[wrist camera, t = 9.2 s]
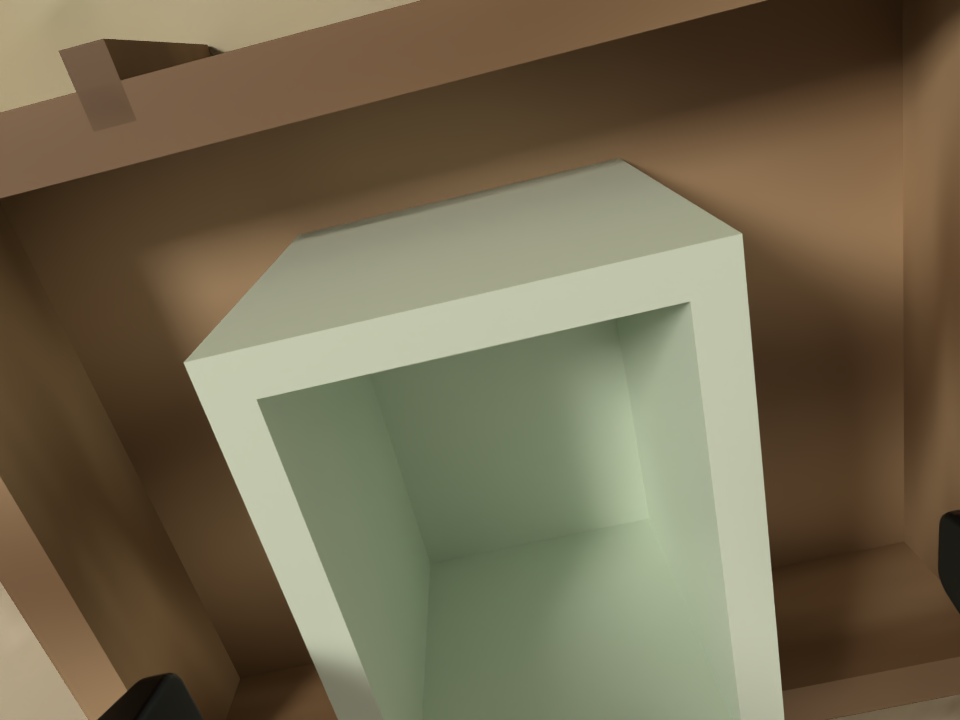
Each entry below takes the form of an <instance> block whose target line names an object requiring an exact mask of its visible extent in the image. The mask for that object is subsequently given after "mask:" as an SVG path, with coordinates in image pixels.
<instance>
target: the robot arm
mask: <svg viewBox="0 0 960 720" xmlns="http://www.w3.org/2000/svg"><path fill="white" fill-rule="evenodd" d="M938 573H939V578H940V581H941V584H942V586H943V588H944V590H945V592H946V594H947V595H948V597H949V599H950V600H951V602H952V603H953V605H954V606H955V608H956V609H957V611H958V613H959V614H960V509H959V510H954V511H949V512H947V513H945V514H943V515H942V517H941V519H940V522H939V545H938ZM97 720H204V719H203V716H202V714H201V713H200V711H199V709H198V707H197V705H196V703H195V702H194V700H193V698H192V696H191V694H190V692H189V691H188V689H187V687H186V685H185V683H184V682H183V680H182V678H181V677H180V676H179V675H177V674H176V673H171V672H170V673H164V674H159V675H154V676H150V677H146V678H143V679H141V680H139V681H138V682H136V683H135V684H134V685H133V686H132V687H131V688H130V689H129V690H128V691H127V692H126V693H125V694H124V695H122V696H121V697H120V698H119V699H118V700H117V701H116V702H115V703H114V704H113V705H112V706H111V707H110V708H109V709H108V710H107V711H106V712H105V713H103V714H102V715H101V716H100V717H99V718H98V719H97Z"/></svg>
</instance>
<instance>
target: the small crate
mask: <svg viewBox="0 0 960 720" xmlns="http://www.w3.org/2000/svg"><path fill="white" fill-rule="evenodd" d="M184 365H185V367H186V370H187V372H188V374H189V377H190V379H191V381H192V384H193V386H194V388H195V390H196V393H197V395H198V397H199V400H200V402H201V404H202V407H203V409H204V411H205V414H206V416H207V418H208V420H209V423H210V425H211V427H212V430H213V432H214V434H215V437H216V439H217V441H218V444H219V446H220V448H221V450H222V453H223V455H224V457H225V460H226V462H227V464H228V467H229V469H230V471H231V474H232V476H233V478H234V481H235V483H236V485H237V487H238V490H239V492H240V494H241V497H242V499H243V501H244V504H245V506H246V508H247V511H248V513H249V515H250V517H251V520H252V522H253V524H254V527H255V529H256V531H257V534H258V536H259V538H260V541H261V543H262V545H263V547H264V550H265V552H266V554H267V557H268V559H269V561H270V564H271V566H272V568H273V571H274V573H275V575H276V577H277V580H278V582H279V584H280V587H281V589H282V591H283V594H284V596H285V598H286V601H287V603H288V605H289V607H290V610H291V612H292V614H293V617H294V619H295V621H296V624H297V626H298V628H299V631H300V633H301V635H302V638H303V640H304V642H305V644H306V647H307V649H308V651H309V654H310V656H311V658H312V661H313V663H314V665H315V668H316V670H317V672H318V674H319V677H320V679H321V681H322V684H323V686H324V688H325V691H326V693H327V695H328V698H329V700H330V702H331V704H332V707H333V709H334V711H335V714H336V716H337V718H338V720H784V708H783V697H782V685H781V674H780V662H779V651H778V639H777V628H776V616H775V605H774V593H773V582H772V570H771V559H770V547H769V536H768V524H767V513H766V501H765V490H764V478H763V467H762V455H761V444H760V432H759V420H758V409H757V397H756V386H755V374H754V363H753V351H752V340H751V328H750V317H749V305H748V294H747V282H746V271H745V259H744V248H743V236H742V233H741V232H739V231H737V230H736V229H734V228H732V227H731V226H729V225H727V224H726V223H724V222H723V221H721V220H719V219H718V218H716V217H714V216H713V215H711V214H710V213H708V212H706V211H705V210H703V209H701V208H700V207H698V206H697V205H695V204H693V203H692V202H690V201H688V200H687V199H685V198H683V197H682V196H680V195H679V194H677V193H675V192H674V191H672V190H670V189H669V188H667V187H666V186H664V185H662V184H661V183H659V182H657V181H656V180H654V179H653V178H651V177H649V176H648V175H646V174H644V173H643V172H641V171H639V170H638V169H636V168H635V167H633V166H631V165H630V164H628V163H626V162H625V161H623V160H622V159H620V158H617V159H613V160H609V161H605V162H600V163H596V164H592V165H588V166H584V167H580V168H575V169H571V170H567V171H563V172H559V173H555V174H550V175H546V176H542V177H538V178H534V179H530V180H525V181H521V182H517V183H513V184H509V185H505V186H500V187H496V188H492V189H488V190H484V191H480V192H476V193H471V194H467V195H463V196H459V197H455V198H451V199H446V200H442V201H438V202H434V203H430V204H426V205H421V206H417V207H413V208H409V209H405V210H401V211H396V212H392V213H388V214H384V215H380V216H376V217H371V218H367V219H363V220H359V221H355V222H351V223H346V224H342V225H338V226H334V227H330V228H326V229H321V230H317V231H313V232H309V233H305V234H301V235H298V236H297V238H296V239H295V240H294V241H293V242H292V243H291V244H290V245H289V246H288V247H287V249H286V250H285V251H284V252H283V253H282V254H281V255H280V256H279V257H278V259H277V260H276V261H275V262H274V263H273V264H272V265H271V266H270V267H269V268H268V270H267V271H266V272H265V273H264V274H263V275H262V276H261V277H260V278H259V280H258V281H257V282H256V283H255V284H254V285H253V286H252V287H251V288H250V290H249V291H248V292H247V293H246V294H245V295H244V296H243V297H242V298H241V299H240V301H239V302H238V303H237V304H236V305H235V306H234V307H233V308H232V309H231V311H230V312H229V313H228V314H227V315H226V316H225V317H224V318H223V319H222V320H221V322H220V323H219V324H218V325H217V326H216V327H215V328H214V329H213V330H212V332H211V333H210V334H209V335H208V336H207V337H206V338H205V339H204V340H203V342H202V343H201V344H200V345H199V346H198V347H197V348H196V349H195V350H194V351H193V353H192V354H191V355H190V356H189V357H188V358H187V359H186V360H185V361H184Z"/></svg>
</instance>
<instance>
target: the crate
mask: <svg viewBox="0 0 960 720" xmlns="http://www.w3.org/2000/svg"><path fill="white" fill-rule="evenodd" d="M59 53H60V55H61V57H62V60H63V62H64V64H65V67H66V69H67V71H68V74H69V76H70V78H71V81H72V83H73V85H74V87H75V90H76V93H72V94H68V95H65V96H61V97H57V98H53V99H50V100H46V101H42V102H38V103H35V104H31V105H27V106H23V107H20V108H16V109H12V110H8V111H5V112H1V113H0V582H1V583H2V585H3V586H4V588H5V589H6V591H7V593H8V594H9V596H10V597H11V599H12V600H13V602H14V604H15V605H16V607H17V608H18V610H19V611H20V613H21V615H22V616H23V618H24V619H25V621H26V622H27V624H28V626H29V627H30V629H31V630H32V632H33V633H34V635H35V637H36V638H37V640H38V641H39V643H40V644H41V646H42V648H43V649H44V651H45V652H46V654H47V655H48V657H49V659H50V660H51V662H52V663H53V665H54V666H55V668H56V670H57V671H58V673H59V674H60V676H61V677H62V679H63V680H64V682H65V684H66V685H67V687H68V688H69V690H70V691H71V693H72V695H73V696H74V698H75V699H76V701H77V702H78V704H79V706H80V707H81V709H82V710H83V712H84V713H85V715H86V717H87V718H88V720H97V719H98V718H99V717H100V716H101V715H102V714H103V713H105V712H106V711H107V710H108V709H109V708H110V707H111V706H112V705H113V704H114V703H115V702H116V701H117V700H118V699H119V698H120V697H121V696H122V695H124V694H125V693H126V692H127V691H128V690H129V689H130V688H131V687H132V686H133V685H134V684H135V683H136V682H138V681H139V680H141V679H143V678H146V677H150V676H154V675H159V674H164V673H170V672H171V673H176V674H177V675H179V676H180V677H181V678H182V680H183V682H184V683H185V685H186V687H187V689H188V691H189V692H190V694H191V696H192V698H193V700H194V702H195V703H196V705H197V707H198V709H199V711H200V713H201V714H202V716H203V719H204V720H338V718H337V716H336V714H335V711H334V709H333V707H332V704H331V702H330V700H329V698H328V695H327V693H326V691H325V688H324V686H323V684H322V681H321V679H320V677H319V674H318V672H317V670H316V668H315V665H314V663H313V661H312V658H311V656H310V654H309V651H308V649H307V647H306V644H305V642H304V640H303V638H302V635H301V633H300V631H299V628H298V626H297V624H296V621H295V619H294V617H293V614H292V612H291V610H290V607H289V605H288V603H287V601H286V598H285V596H284V594H283V591H282V589H281V587H280V584H279V582H278V580H277V577H276V575H275V573H274V571H273V568H272V566H271V564H270V561H269V559H268V557H267V554H266V552H265V550H264V547H263V545H262V543H261V541H260V538H259V536H258V534H257V531H256V529H255V527H254V524H253V522H252V520H251V517H250V515H249V513H248V511H247V508H246V506H245V504H244V501H243V499H242V497H241V494H240V492H239V490H238V487H237V485H236V483H235V481H234V478H233V476H232V474H231V471H230V469H229V467H228V464H227V462H226V460H225V457H224V455H223V453H222V450H221V448H220V446H219V444H218V441H217V439H216V437H215V434H214V432H213V430H212V427H211V425H210V423H209V420H208V418H207V416H206V414H205V411H204V409H203V407H202V404H201V402H200V400H199V397H198V395H197V393H196V390H195V388H194V386H193V384H192V381H191V379H190V377H189V374H188V372H187V370H186V367H185V365H184V361H185V360H186V359H187V358H188V357H189V356H190V355H191V354H192V353H193V351H194V350H195V349H196V348H197V347H198V346H199V345H200V344H201V343H202V342H203V340H204V339H205V338H206V337H207V336H208V335H209V334H210V333H211V332H212V330H213V329H214V328H215V327H216V326H217V325H218V324H219V323H220V322H221V320H222V319H223V318H224V317H225V316H226V315H227V314H228V313H229V312H230V311H231V309H232V308H233V307H234V306H235V305H236V304H237V303H238V302H239V301H240V299H241V298H242V297H243V296H244V295H245V294H246V293H247V292H248V291H249V290H250V288H251V287H252V286H253V285H254V284H255V283H256V282H257V281H258V280H259V278H260V277H261V276H262V275H263V274H264V273H265V272H266V271H267V270H268V268H269V267H270V266H271V265H272V264H273V263H274V262H275V261H276V260H277V259H278V257H279V256H280V255H281V254H282V253H283V252H284V251H285V250H286V249H287V247H288V246H289V245H290V244H291V243H292V242H293V241H294V240H295V239H296V238H297V236H298V235H301V234H305V233H309V232H313V231H317V230H321V229H326V228H330V227H334V226H338V225H342V224H346V223H351V222H355V221H359V220H363V219H367V218H371V217H376V216H380V215H384V214H388V213H392V212H396V211H401V210H405V209H409V208H413V207H417V206H421V205H426V204H430V203H434V202H438V201H442V200H446V199H451V198H455V197H459V196H463V195H467V194H471V193H476V192H480V191H484V190H488V189H492V188H496V187H500V186H505V185H509V184H513V183H517V182H521V181H525V180H530V179H534V178H538V177H542V176H546V175H550V174H555V173H559V172H563V171H567V170H571V169H575V168H580V167H584V166H588V165H592V164H596V163H600V162H605V161H609V160H613V159H617V158H620V159H622V160H623V161H625V162H626V163H628V164H630V165H631V166H633V167H635V168H636V169H638V170H639V171H641V172H643V173H644V174H646V175H648V176H649V177H651V178H653V179H654V180H656V181H657V182H659V183H661V184H662V185H664V186H666V187H667V188H669V189H670V190H672V191H674V192H675V193H677V194H679V195H680V196H682V197H683V198H685V199H687V200H688V201H690V202H692V203H693V204H695V205H697V206H698V207H700V208H701V209H703V210H705V211H706V212H708V213H710V214H711V215H713V216H714V217H716V218H718V219H719V220H721V221H723V222H724V223H726V224H727V225H729V226H731V227H732V228H734V229H736V230H737V231H739V232H741V233H742V236H743V248H744V259H745V271H746V282H747V294H748V305H749V317H750V328H751V340H752V351H753V363H754V374H755V386H756V397H757V409H758V420H759V432H760V444H761V455H762V467H763V478H764V490H765V501H766V513H767V524H768V536H769V547H770V559H771V570H772V582H773V593H774V605H775V616H776V628H777V639H778V651H779V662H780V674H781V685H782V697H783V708H784V720H828V719H833V718H838V717H843V716H849V715H854V714H859V713H864V712H869V711H875V710H880V709H885V708H890V707H896V706H901V705H906V704H911V703H916V702H922V701H927V700H932V699H937V698H943V697H948V696H953V695H958V694H960V614H959V613H958V611H957V609H956V608H955V606H954V605H953V603H952V602H951V600H950V599H949V597H948V595H947V594H946V592H945V590H944V588H943V586H942V584H941V581H940V578H939V573H938V545H939V522H940V519H941V517H942V515H943V514H945V513H947V512H949V511H954V510H959V509H960V0H421V1H417V2H413V3H409V4H406V5H402V6H398V7H394V8H391V9H387V10H383V11H379V12H376V13H372V14H368V15H364V16H361V17H357V18H353V19H349V20H346V21H342V22H338V23H334V24H331V25H327V26H323V27H319V28H316V29H312V30H308V31H304V32H301V33H297V34H293V35H289V36H286V37H282V38H278V39H274V40H271V41H267V42H263V43H259V44H256V45H252V46H248V47H244V48H241V49H237V50H233V51H229V52H226V53H222V54H218V55H214V56H211V54H210V51H209V48H208V45H203V44H186V43H168V42H151V41H133V40H116V39H101V40H97V41H94V42H90V43H86V44H82V45H79V46H75V47H71V48H68V49H64V50H60V51H59Z"/></svg>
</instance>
